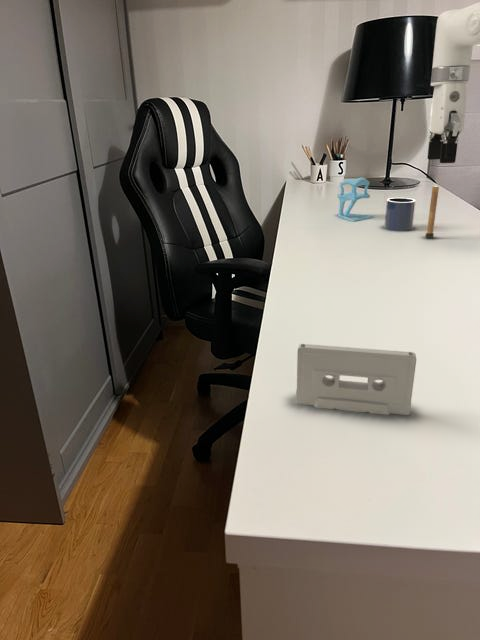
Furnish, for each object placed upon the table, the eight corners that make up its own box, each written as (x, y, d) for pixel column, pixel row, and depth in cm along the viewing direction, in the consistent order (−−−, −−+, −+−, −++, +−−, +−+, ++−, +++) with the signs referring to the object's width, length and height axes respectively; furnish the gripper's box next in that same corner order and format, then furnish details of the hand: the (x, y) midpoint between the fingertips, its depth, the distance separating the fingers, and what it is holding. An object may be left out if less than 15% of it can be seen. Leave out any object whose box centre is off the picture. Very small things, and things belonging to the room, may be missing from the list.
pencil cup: (408, 227, 134) (411, 197, 131) (414, 234, 128) (418, 202, 125) (381, 228, 135) (384, 197, 132) (386, 234, 128) (389, 202, 125)
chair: (350, 215, 151) (352, 174, 146) (372, 219, 145) (375, 177, 140) (332, 219, 147) (334, 177, 142) (353, 223, 141) (356, 179, 136)
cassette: (294, 411, 55) (296, 349, 52) (297, 402, 56) (298, 341, 53) (409, 423, 52) (418, 358, 49) (408, 413, 54) (416, 350, 51)
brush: (431, 240, 122) (438, 185, 116) (433, 242, 120) (440, 186, 115) (424, 240, 122) (430, 185, 117) (426, 242, 120) (432, 186, 115)
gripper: (483, 73, 99) (471, 164, 105) (455, 79, 114) (446, 157, 121) (444, 75, 99) (434, 165, 106) (421, 80, 115) (414, 158, 122)
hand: (440, 161), depth 113 cm, fingers open, 9 cm apart
